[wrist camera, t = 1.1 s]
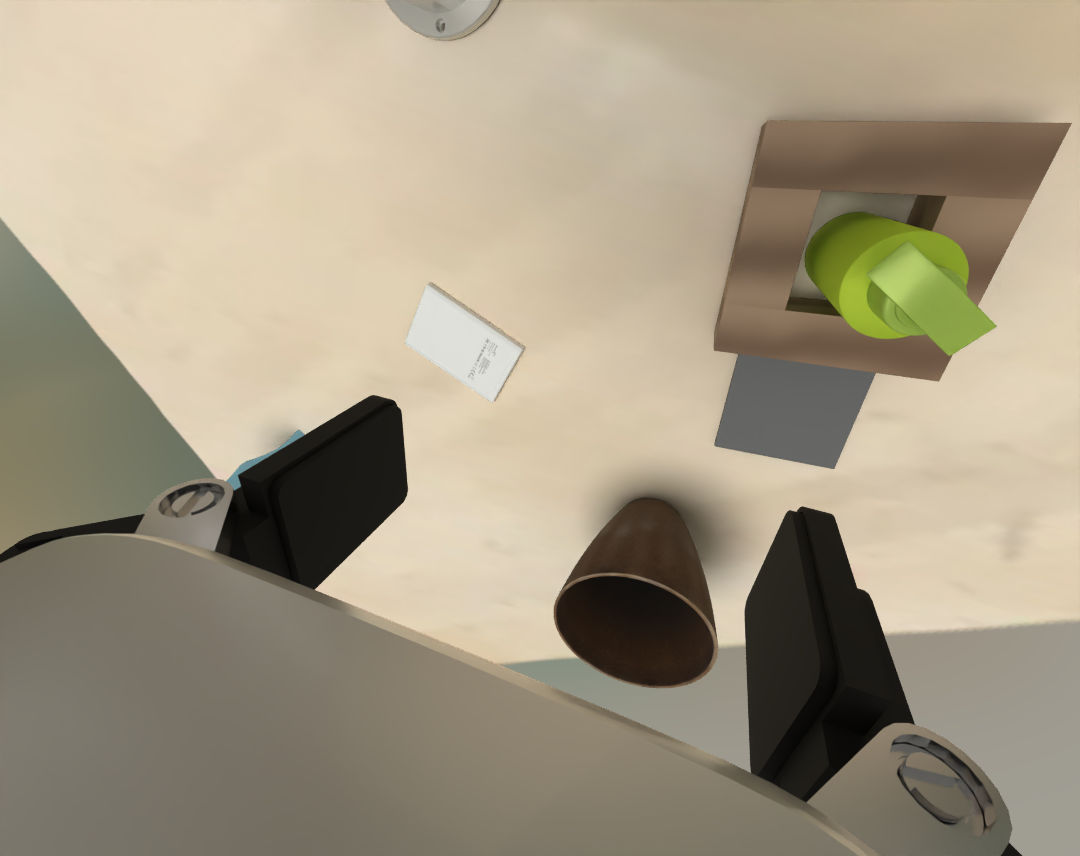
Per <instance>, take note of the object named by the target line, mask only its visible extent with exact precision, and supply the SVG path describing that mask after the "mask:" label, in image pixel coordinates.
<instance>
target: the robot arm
mask: <svg viewBox="0 0 1080 856" xmlns="http://www.w3.org/2000/svg"><path fill="white" fill-rule="evenodd" d="M385 1H386V3H387V4H388V6H389V7H390V9H391V10H392V12H393V13H394V14H395V15H396V16H397V17H398V18H399V19H400V21H401V22H402V23H404V24H405V25H406V26H408V27H409V28H410V29H412V30H413V31H415V32H417V33H419V34H421V35H423V36H425V37H429V38H432V39H435V40H454V39H458V38H461V37H464V36H466V35H467V34H469V33H471V32H473V31H475V30H476V29H477V28H478V27H479V26H480V25H481V24H482V23H484V22H485V21H486V20H487V18H488V17H489V16H490V14H491V13H492V12H493V10H494V9H495V8H496V6H497V4H498V2H499V0H385ZM444 25H445V29H444ZM238 478H239V481H240V484H241V487H239V488H237V489H236V490H234V489H233V487H232V486H231V484H230V483H228V482H226V481H224V480H220V479H213V478H211V479H198V480H193V481H189V482H185V483H182V484H179V485H176V486H174V487H172V488H170V489H168V490H166V491H165V492H163V493H162V494H160V495H159V496H158V497H156V498H155V499H154V501H153V502H152V503H151V504H150V506H149V508H148V510H147V511H146V513H145V514H142V515H136V516H131V517H125V518H119V519H114V520H108V521H103V522H97V523H91V524H86V525H80V526H75V527H69V528H64V529H58V530H54V531H48V532H42V533H38V534H34V535H32V536H29V537H27V538H25V539H23V540H21V541H19V542H18V543H16V544H15V545H14V546H12V547H10V548H9V549H8V550H6V551H4V552H3V553H2V554H0V856H1022V855H1021V854H1020V853H1019V852H1018V851H1017V850H1016V849H1015V848H1014V847H1013V846H1012V845H1011V844H1010V843H1009V840H1010V836H1011V832H1012V825H1011V821H1010V816H1009V811H1008V809H1007V807H1006V805H1005V803H1004V801H1003V799H1002V797H1001V795H1000V793H999V791H998V790H997V788H996V787H995V786H994V784H993V783H992V782H991V780H990V779H989V778H988V776H987V775H986V774H985V773H984V771H983V770H982V769H981V768H980V767H979V766H978V765H977V764H976V763H975V762H974V761H973V760H972V759H971V758H970V757H969V756H968V755H967V754H965V753H964V752H963V751H962V750H961V749H959V748H958V747H956V746H955V745H954V744H952V743H951V742H950V741H948V740H947V739H945V738H944V737H942V736H940V735H938V734H936V733H934V732H932V731H930V730H928V729H926V728H923V727H920V726H917V725H915V724H914V721H913V718H912V715H911V712H910V709H909V706H908V703H907V700H906V697H905V694H904V692H903V689H902V686H901V683H900V680H899V677H898V674H897V672H896V668H895V665H894V663H893V660H892V657H891V654H890V651H889V648H888V645H887V642H886V639H885V636H884V633H883V631H882V628H881V625H880V622H879V619H878V616H877V613H876V610H875V607H874V604H873V601H872V599H871V597H870V595H869V594H868V593H867V592H866V591H864V590H861V589H858V588H857V586H856V583H855V580H854V577H853V573H852V570H851V567H850V564H849V561H848V558H847V555H846V551H845V548H844V545H843V542H842V539H841V536H840V533H839V529H838V526H837V523H836V520H835V517H834V516H833V515H832V514H830V513H826V512H822V511H818V510H814V509H810V508H806V507H803V506H802V507H800V508H799V509H798V510H797V512H794V511H791V510H789V511H788V512H787V513H786V515H785V517H784V519H783V521H782V523H781V526H780V528H779V530H778V532H777V534H776V537H775V539H774V541H773V543H772V545H771V547H770V550H769V552H768V554H767V556H766V558H765V561H764V563H763V565H762V567H761V569H760V572H759V574H758V576H757V578H756V580H755V583H754V585H753V587H752V589H751V591H750V593H749V596H748V598H747V601H746V606H745V638H746V664H747V690H748V715H749V716H748V717H749V741H750V742H749V743H750V767H751V773H750V772H747V771H746V770H743V769H741V768H739V767H737V766H735V765H733V764H731V763H729V762H727V761H725V760H723V759H721V758H718V757H716V756H714V755H712V754H709V753H707V752H705V751H702V750H700V749H698V748H695V747H693V746H691V745H689V744H686V743H684V742H682V741H679V740H677V739H674V738H672V737H670V736H667V735H665V734H663V733H661V732H658V731H656V730H654V729H652V728H649V727H647V726H645V725H642V724H640V723H638V722H635V721H633V720H630V719H628V718H626V717H624V716H621V715H619V714H616V713H614V712H611V711H609V710H607V709H604V708H602V707H600V706H597V705H595V704H592V703H590V702H587V701H585V700H582V699H580V698H578V697H575V696H573V695H571V694H568V693H565V692H563V691H561V690H558V689H556V688H554V687H551V686H549V685H546V684H544V683H542V682H539V681H537V680H534V679H532V678H529V677H527V676H525V675H522V674H520V673H517V672H515V671H512V670H510V669H508V668H505V667H503V666H500V665H498V664H496V663H493V662H491V661H488V660H486V659H483V658H481V657H478V656H476V655H474V654H471V653H469V652H466V651H464V650H461V649H459V648H456V647H454V646H452V645H449V644H447V643H444V642H442V641H439V640H437V639H434V638H432V637H430V636H427V635H425V634H422V633H420V632H417V631H415V630H412V629H410V628H407V627H405V626H402V625H400V624H398V623H395V622H393V621H390V620H388V619H385V618H383V617H380V616H378V615H375V614H373V613H370V612H368V611H366V610H363V609H361V608H358V607H356V606H353V605H351V604H348V603H346V602H343V601H341V600H338V599H336V598H333V597H331V596H328V595H326V594H323V593H321V592H318V591H316V590H315V589H316V588H317V587H318V586H319V585H320V584H321V583H322V582H323V581H324V580H325V579H326V578H327V577H328V576H329V575H330V574H331V573H332V572H333V571H334V570H335V569H336V568H337V567H338V566H339V565H340V564H341V563H342V562H343V561H344V560H345V559H346V558H347V557H348V556H349V555H350V554H351V553H352V552H353V551H354V550H355V549H356V548H357V547H358V546H359V545H360V544H361V543H362V542H363V541H364V540H365V539H366V538H367V537H369V536H370V535H371V534H372V533H373V532H374V531H375V530H376V529H377V528H378V527H379V526H380V525H381V524H382V523H383V522H384V521H385V520H386V519H387V518H388V517H389V516H390V515H391V514H392V513H393V512H394V511H395V510H396V509H397V508H398V507H399V506H400V505H401V504H402V503H403V502H404V500H405V498H406V496H407V492H408V485H407V473H406V461H405V448H404V436H403V424H402V413H401V410H400V408H399V407H397V404H396V402H395V401H393V400H391V399H387V398H383V397H379V396H375V395H372V396H369V397H367V398H366V399H364V400H362V401H361V402H359V403H357V404H356V405H354V406H352V407H351V408H349V409H347V410H346V411H344V412H342V413H341V414H339V415H337V416H336V417H334V418H332V419H331V420H329V421H327V422H326V423H324V424H322V425H321V426H319V427H317V428H316V429H314V430H312V431H311V432H309V433H307V434H306V435H304V436H302V437H301V438H299V439H297V440H295V441H294V442H292V443H290V444H289V445H287V446H285V447H284V448H282V449H280V450H279V451H277V452H275V453H274V454H272V455H270V456H269V457H267V458H265V459H264V460H262V461H260V462H259V463H257V464H255V465H254V466H252V467H250V468H249V469H247V470H245V471H244V472H242V473H240V474H239V475H238Z"/></svg>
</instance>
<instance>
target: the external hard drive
mask: <svg viewBox="0 0 1080 856" xmlns="http://www.w3.org/2000/svg"><path fill="white" fill-rule="evenodd" d="M405 344H406V345H407V346H409V347H410V348H412V349H413V350H415V351H416V352H418V353H419V354H421V355H422V356H423V357H425V358H426V359H428V360H429V361H431V362H432V363H434V364H435V365H437V366H438V367H440V368H441V369H443V370H444V371H446V372H447V373H449V374H450V375H452V376H453V377H454V378H456V379H457V380H459V381H460V382H462V383H463V384H465V385H466V386H468V387H469V388H471V389H472V390H474V391H475V392H477V393H478V394H480V395H481V396H483V397H484V398H485V399H487V400H488V401H490V402H491V403H493V402H494V401H495V400H496V398H497V396H498V394H499V393H500V391H501V389H502V387H503V386H504V384H505V382H506V380H507V378H508V376H509V374H510V373H511V371H512V370H513V368H514V366H515V365H516V363H517V361H518V359H519V358H520V356H521V354H522V352H523V351H524V349H525V347H524V346H523V345H521V344H520V343H518V342H517V341H515V340H514V339H513V338H511V337H510V336H508V335H507V334H505V333H504V332H502V331H501V330H500V329H498V328H497V327H495V326H494V325H492V324H491V323H489V322H488V321H486V320H485V319H483V318H482V317H481V316H479V315H478V314H476V313H475V312H473V311H472V310H470V309H469V308H467V307H466V306H464V305H463V304H462V303H460V302H459V301H457V300H456V299H454V298H453V297H451V296H450V295H448V294H447V293H445V292H444V291H443V290H441V289H440V288H438V287H437V286H435V285H434V284H432V283H430V284H427V286H426V288H425V290H424V292H423V295H422V298H421V300H420V303H419V306H418V309H417V311H416V314H415V317H414V319H413V322H412V324H411V327H410V330H409V333H408V335H407V338H406V341H405Z"/></svg>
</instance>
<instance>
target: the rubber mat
mask: <svg viewBox="0 0 1080 856" xmlns="http://www.w3.org/2000/svg"><path fill="white" fill-rule="evenodd" d="M875 374H876V373H874V372H867V371H859V370H852V369H845V368H838V367H830V366H823V365H816V364H809V363H801V362H794V361H787V360H779V359H772V358H765V357H758V356H750V355H743V354H738V357H737V361H736V365H735V369H734V372H733V376H732V380H731V384H730V387H729V391H728V395H727V399H726V403H725V406H724V410H723V414H722V418H721V421H720V425H719V429H718V433H717V437H716V440H715V446H716V447H722V448H727V449H732V450H737V451H742V452H748V453H753V454H758V455H763V456H769V457H774V458H779V459H784V460H790V461H795V462H800V463H805V464H810V465H816V466H821V467H826V468H831V469H834V468H835V466H836V463H837V461H838V459H839V457H840V454H841V452H842V450H843V447H844V445H845V443H846V440H847V438H848V436H849V434H850V431H851V429H852V427H853V424H854V422H855V420H856V417H857V415H858V413H859V411H860V408H861V406H862V404H863V401H864V399H865V397H866V394H867V392H868V390H869V387H870V385H871V383H872V381H873V378H874V376H875Z"/></svg>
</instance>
